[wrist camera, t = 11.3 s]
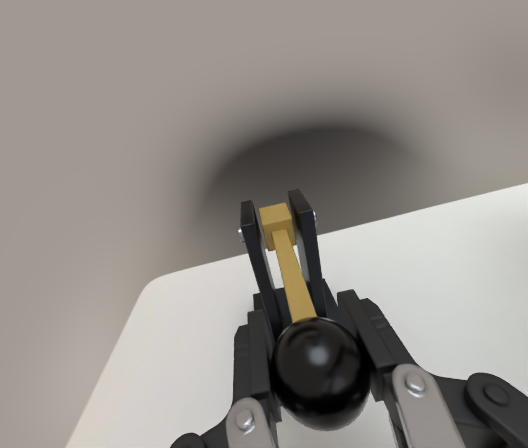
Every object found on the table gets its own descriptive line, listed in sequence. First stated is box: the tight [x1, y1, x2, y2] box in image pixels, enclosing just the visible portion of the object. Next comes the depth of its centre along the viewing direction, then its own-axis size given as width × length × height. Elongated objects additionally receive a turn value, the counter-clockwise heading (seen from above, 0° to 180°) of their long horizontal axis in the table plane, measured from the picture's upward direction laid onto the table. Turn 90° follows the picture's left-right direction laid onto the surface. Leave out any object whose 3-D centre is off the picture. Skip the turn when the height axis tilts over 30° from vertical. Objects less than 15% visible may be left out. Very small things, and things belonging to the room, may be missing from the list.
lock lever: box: [259, 203, 371, 431], centre depth 14 cm, size 14×4×4 cm, turn 6°
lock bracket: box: [238, 189, 341, 406], centre depth 21 cm, size 12×9×15 cm
